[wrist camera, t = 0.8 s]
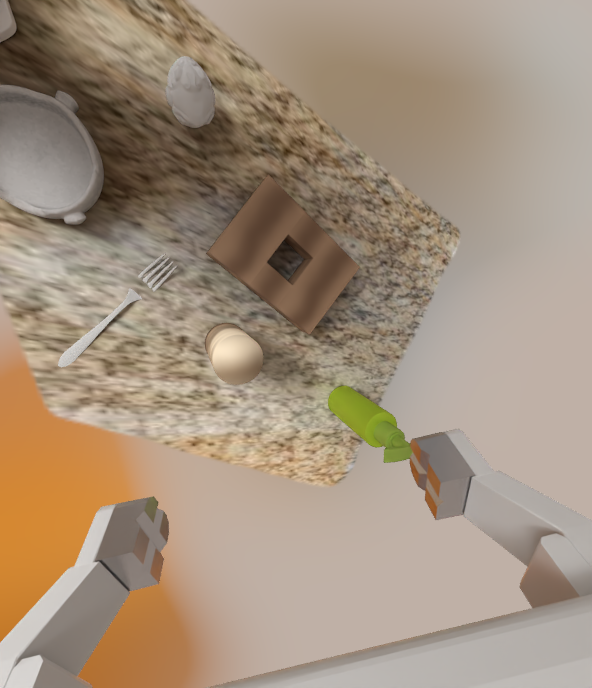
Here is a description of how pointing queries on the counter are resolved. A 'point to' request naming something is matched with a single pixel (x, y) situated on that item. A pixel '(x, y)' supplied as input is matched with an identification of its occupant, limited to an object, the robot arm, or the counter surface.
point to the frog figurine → (190, 93)
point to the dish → (47, 155)
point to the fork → (114, 313)
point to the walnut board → (262, 241)
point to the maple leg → (233, 354)
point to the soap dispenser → (370, 423)
